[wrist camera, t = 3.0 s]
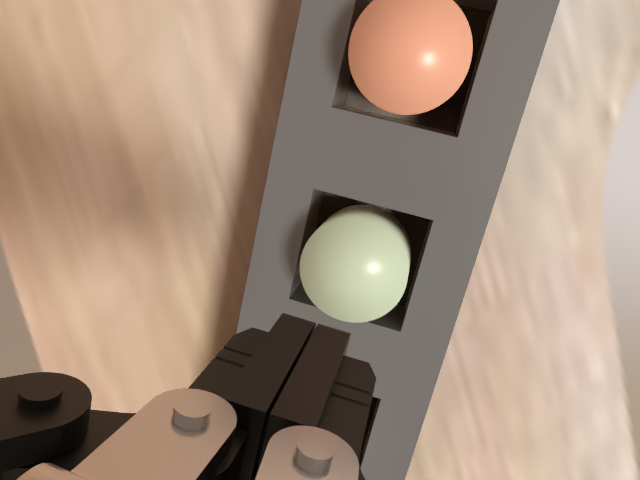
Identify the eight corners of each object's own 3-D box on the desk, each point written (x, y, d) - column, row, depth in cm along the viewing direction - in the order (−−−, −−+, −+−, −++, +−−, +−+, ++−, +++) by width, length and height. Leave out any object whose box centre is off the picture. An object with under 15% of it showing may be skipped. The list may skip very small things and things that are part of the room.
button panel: (389, 499, 24) (384, 543, 22) (228, 445, 25) (207, 480, 23) (560, -39, 18) (579, -61, 16) (337, -82, 19) (323, -108, 17)
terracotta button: (450, 124, 19) (452, 127, 16) (348, 99, 19) (336, 99, 17) (482, 12, 18) (489, -1, 15) (373, -11, 18) (364, -27, 16)
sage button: (397, 309, 21) (392, 335, 18) (305, 283, 21) (289, 305, 19) (422, 219, 20) (421, 234, 17) (326, 193, 20) (312, 205, 18)
